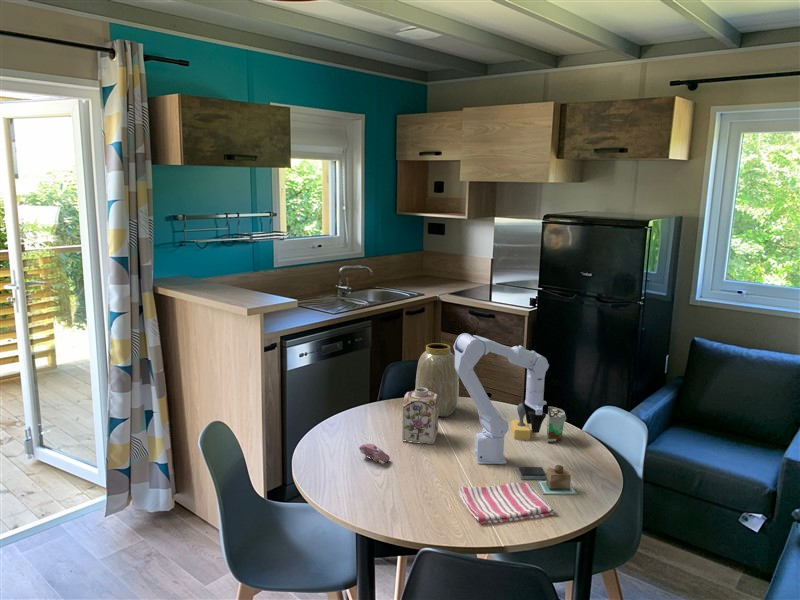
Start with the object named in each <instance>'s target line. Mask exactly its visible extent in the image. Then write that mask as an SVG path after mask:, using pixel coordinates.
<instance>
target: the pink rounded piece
mask: <svg viewBox="0 0 800 600" xmlns="http://www.w3.org/2000/svg"><path fill="white" fill-rule="evenodd" d="M359 450H360V453H361V454H364V456H365V457H366V456H368V457H370V458H371V459H372V460H373V459H374V460H373V461H374V462H375V461H378V462H379V461H381V462H383V463H388V462H387V461H389V462H390V460H391V457H390V455H389V454H387V453H385V452H384V450H383V449H381V448H380V447H377V445H375V444H374V443H367V442H364V443H363V444H362V445H360V447H359Z"/></svg>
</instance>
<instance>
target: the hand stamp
mask: <svg viewBox="0 0 800 600" xmlns="http://www.w3.org/2000/svg"><path fill="white" fill-rule="evenodd" d="M546 475H547V480H546V481H547V483H546V484H547V486H548V488H549V490H558V491H570V483H571V482H572V481H571V479H572V474H571V473H570V471H569V470H568V468H564V466H563V465H561V464H557V465H555V467H554V468H547V470H546Z"/></svg>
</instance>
